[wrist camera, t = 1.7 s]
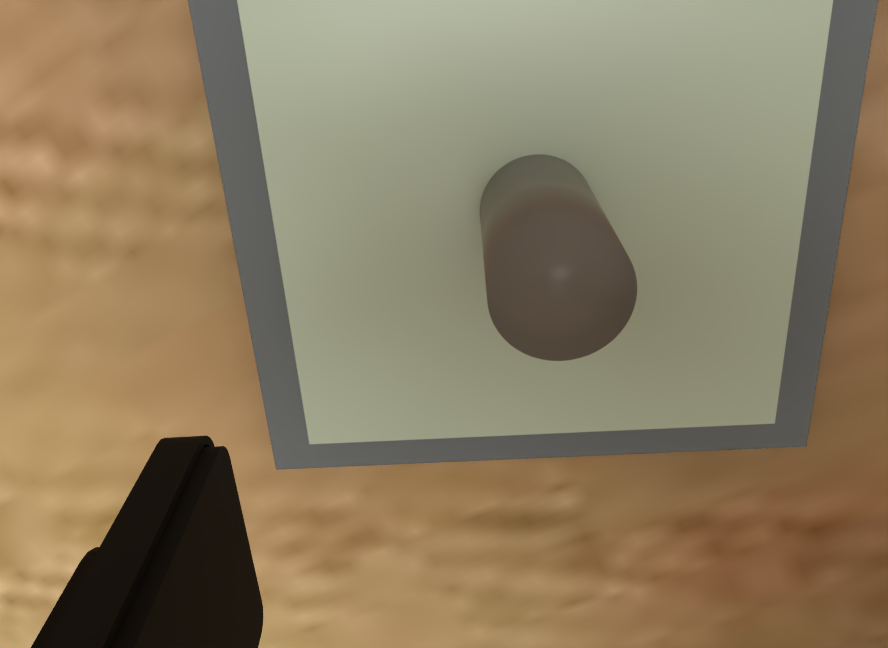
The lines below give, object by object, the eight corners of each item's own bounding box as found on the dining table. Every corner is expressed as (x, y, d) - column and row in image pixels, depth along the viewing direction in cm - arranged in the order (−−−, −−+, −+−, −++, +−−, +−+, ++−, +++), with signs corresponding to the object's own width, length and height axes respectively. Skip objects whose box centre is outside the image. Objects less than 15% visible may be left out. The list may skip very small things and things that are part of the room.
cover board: (765, 410, 26) (861, 553, 20) (313, 430, 26) (270, 576, 20) (833, -109, 19) (1007, -136, 13) (234, -66, 20) (136, -72, 14)
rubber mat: (799, 436, 27) (806, 446, 26) (279, 459, 28) (276, 469, 27) (894, -182, 19) (907, -185, 19) (171, -127, 20) (163, -129, 19)
